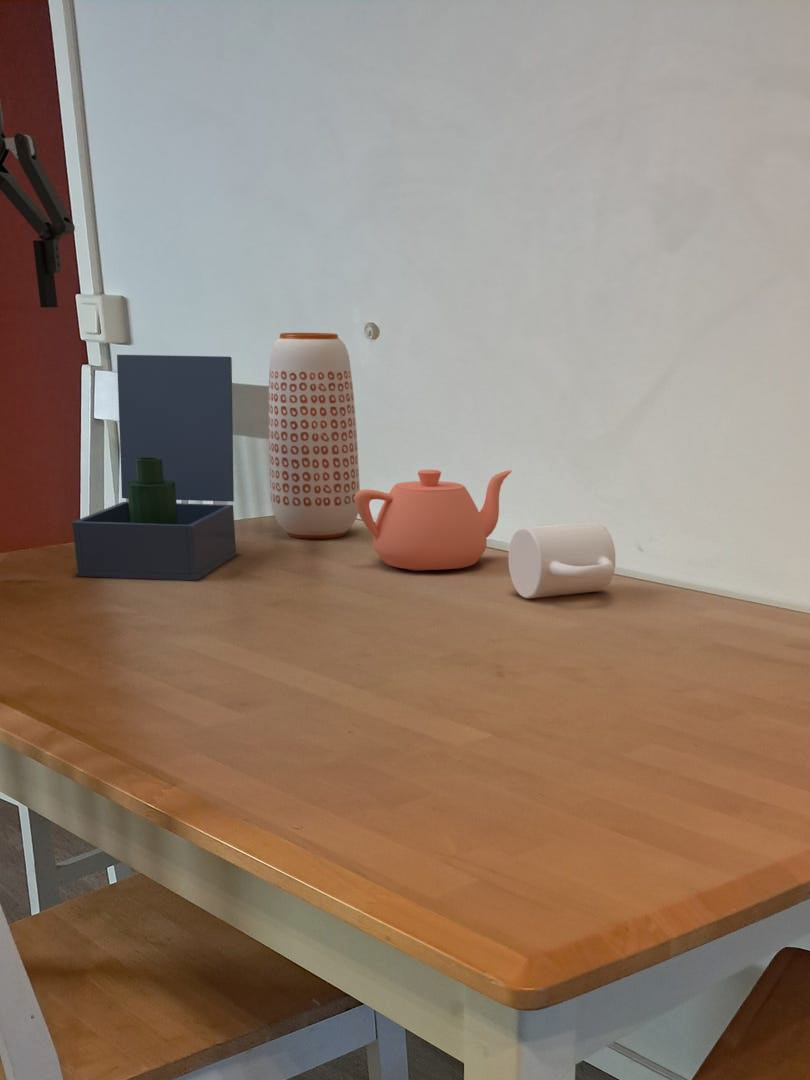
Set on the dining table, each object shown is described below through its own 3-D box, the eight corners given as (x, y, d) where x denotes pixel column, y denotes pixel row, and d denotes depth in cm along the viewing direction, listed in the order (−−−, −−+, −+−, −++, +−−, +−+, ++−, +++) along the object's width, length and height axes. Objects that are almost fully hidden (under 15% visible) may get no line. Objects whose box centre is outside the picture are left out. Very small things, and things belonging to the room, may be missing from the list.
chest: (196, 580, 161) (192, 525, 158) (78, 576, 162) (71, 522, 160) (236, 554, 177) (233, 504, 174) (128, 551, 178) (123, 501, 176)
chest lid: (229, 356, 169) (244, 363, 176) (116, 354, 171) (134, 361, 177) (232, 501, 174) (245, 502, 180) (121, 498, 175) (139, 499, 182)
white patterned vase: (353, 542, 186) (347, 335, 175) (264, 541, 187) (252, 334, 176) (366, 527, 199) (361, 332, 187) (282, 526, 199) (272, 331, 188)
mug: (506, 591, 157) (508, 522, 154) (579, 584, 162) (582, 517, 158) (557, 612, 147) (560, 539, 144) (633, 604, 151) (637, 533, 148)
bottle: (127, 564, 166) (117, 460, 161) (143, 555, 171) (134, 455, 166) (172, 565, 165) (163, 461, 160) (187, 557, 171) (179, 456, 166)
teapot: (490, 549, 183) (492, 461, 178) (531, 569, 170) (534, 474, 165) (342, 558, 175) (339, 465, 170) (372, 579, 163) (370, 480, 158)
